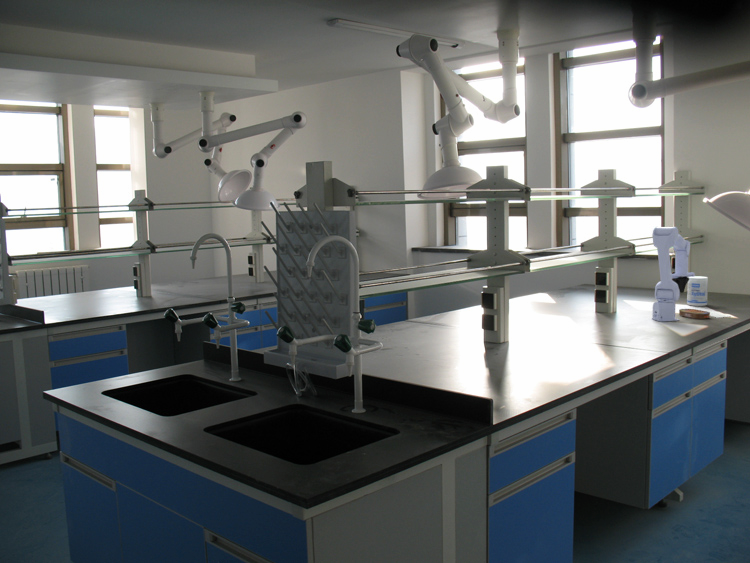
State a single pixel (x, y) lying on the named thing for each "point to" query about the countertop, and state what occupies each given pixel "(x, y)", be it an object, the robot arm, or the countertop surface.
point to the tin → (694, 313)
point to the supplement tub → (697, 291)
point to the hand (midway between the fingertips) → (681, 292)
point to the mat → (717, 315)
